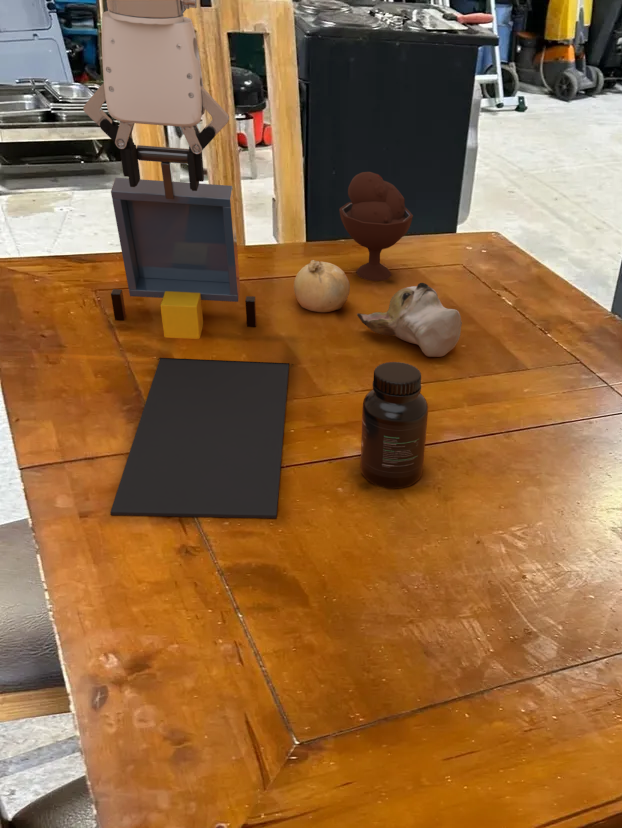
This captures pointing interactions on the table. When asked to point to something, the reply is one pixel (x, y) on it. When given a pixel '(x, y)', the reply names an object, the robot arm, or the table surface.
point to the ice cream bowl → (375, 220)
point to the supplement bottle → (394, 427)
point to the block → (182, 315)
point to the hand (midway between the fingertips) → (165, 183)
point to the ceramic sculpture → (418, 320)
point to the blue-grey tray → (176, 233)
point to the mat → (207, 441)
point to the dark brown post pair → (121, 314)
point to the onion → (321, 287)
